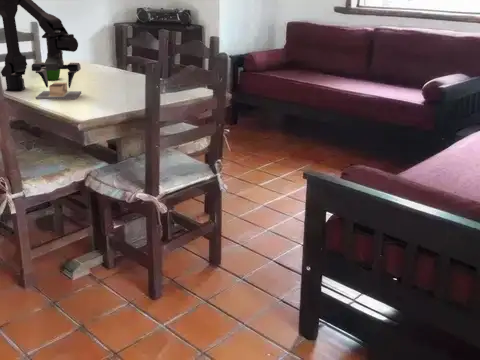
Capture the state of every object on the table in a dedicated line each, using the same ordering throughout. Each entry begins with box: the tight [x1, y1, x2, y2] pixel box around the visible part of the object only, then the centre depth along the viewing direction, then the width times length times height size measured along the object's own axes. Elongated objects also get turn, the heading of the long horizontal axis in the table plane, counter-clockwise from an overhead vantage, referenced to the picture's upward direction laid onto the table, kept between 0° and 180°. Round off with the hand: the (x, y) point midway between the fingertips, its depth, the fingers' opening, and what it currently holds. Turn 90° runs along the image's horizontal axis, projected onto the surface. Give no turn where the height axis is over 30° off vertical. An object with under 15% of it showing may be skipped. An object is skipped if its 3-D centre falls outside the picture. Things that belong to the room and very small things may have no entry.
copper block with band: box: [48, 81, 68, 96], centre depth 230 cm, size 9×5×4 cm, turn 3°
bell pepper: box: [44, 69, 61, 81], centre depth 262 cm, size 8×8×10 cm
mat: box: [35, 90, 82, 100], centre depth 231 cm, size 16×12×1 cm
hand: (58, 87), depth 230 cm, fingers open, 9 cm apart
